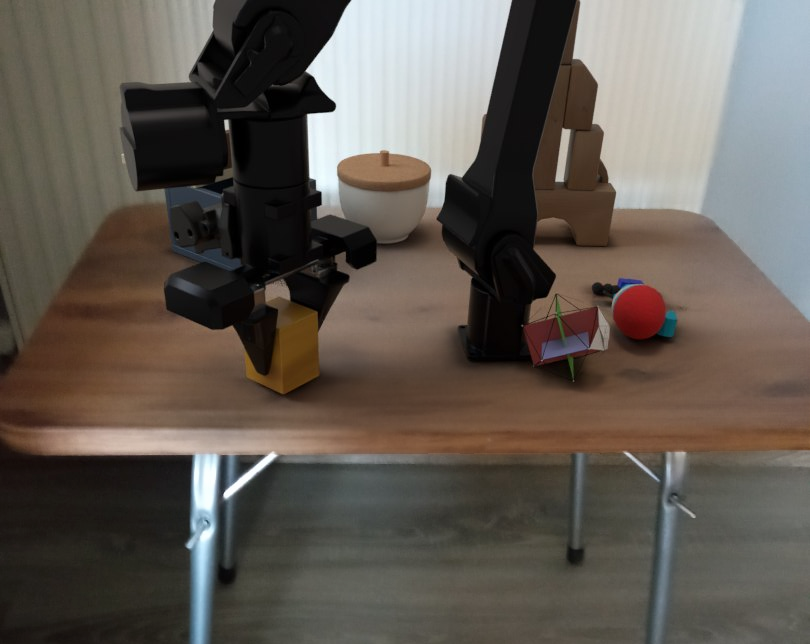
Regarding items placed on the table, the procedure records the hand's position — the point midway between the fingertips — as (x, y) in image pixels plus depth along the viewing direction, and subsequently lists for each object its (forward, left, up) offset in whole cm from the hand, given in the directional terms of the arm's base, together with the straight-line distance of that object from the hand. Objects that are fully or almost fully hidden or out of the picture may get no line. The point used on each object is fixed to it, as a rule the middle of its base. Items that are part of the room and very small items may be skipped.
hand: (282, 363), depth 77 cm
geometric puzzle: (+1, -25, -2) cm, 25 cm away
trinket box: (+35, -12, -2) cm, 37 cm away
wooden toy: (+34, -31, -2) cm, 46 cm away
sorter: (+30, +4, -2) cm, 30 cm away
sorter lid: (+35, +9, +6) cm, 36 cm away
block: (0, 0, -1) cm, 1 cm away
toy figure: (+11, -35, -2) cm, 36 cm away
